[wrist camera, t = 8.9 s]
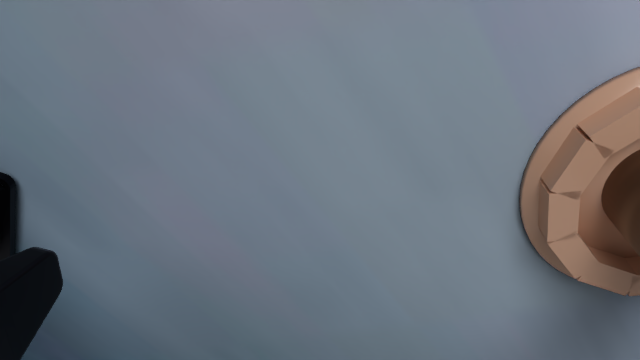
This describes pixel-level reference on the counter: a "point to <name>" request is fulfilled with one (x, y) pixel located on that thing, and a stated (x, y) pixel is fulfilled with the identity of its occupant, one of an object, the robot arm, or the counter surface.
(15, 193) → the robot arm
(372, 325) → the counter surface
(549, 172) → the collar dish
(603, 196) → the dowel
